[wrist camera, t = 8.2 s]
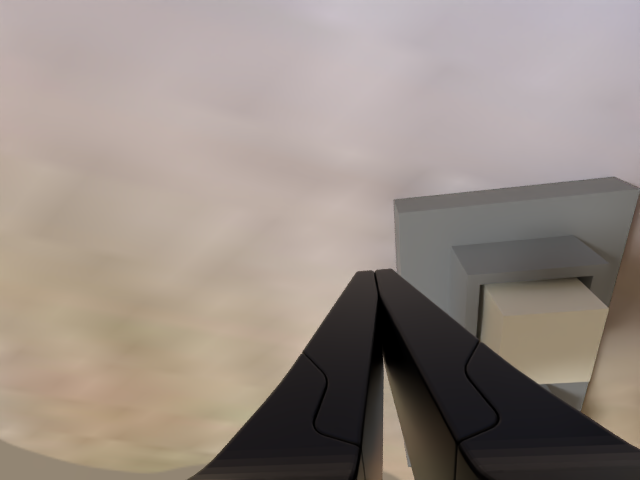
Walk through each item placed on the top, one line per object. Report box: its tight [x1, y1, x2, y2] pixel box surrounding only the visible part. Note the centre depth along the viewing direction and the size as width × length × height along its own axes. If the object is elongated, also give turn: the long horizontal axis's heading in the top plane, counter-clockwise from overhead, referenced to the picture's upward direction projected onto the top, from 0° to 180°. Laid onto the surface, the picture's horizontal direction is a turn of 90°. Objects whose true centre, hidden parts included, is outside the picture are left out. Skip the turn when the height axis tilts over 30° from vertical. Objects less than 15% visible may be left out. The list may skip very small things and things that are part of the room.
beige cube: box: [476, 277, 609, 384], centre depth 19 cm, size 4×4×4 cm
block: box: [394, 177, 640, 467], centre depth 24 cm, size 12×22×5 cm, turn 7°
